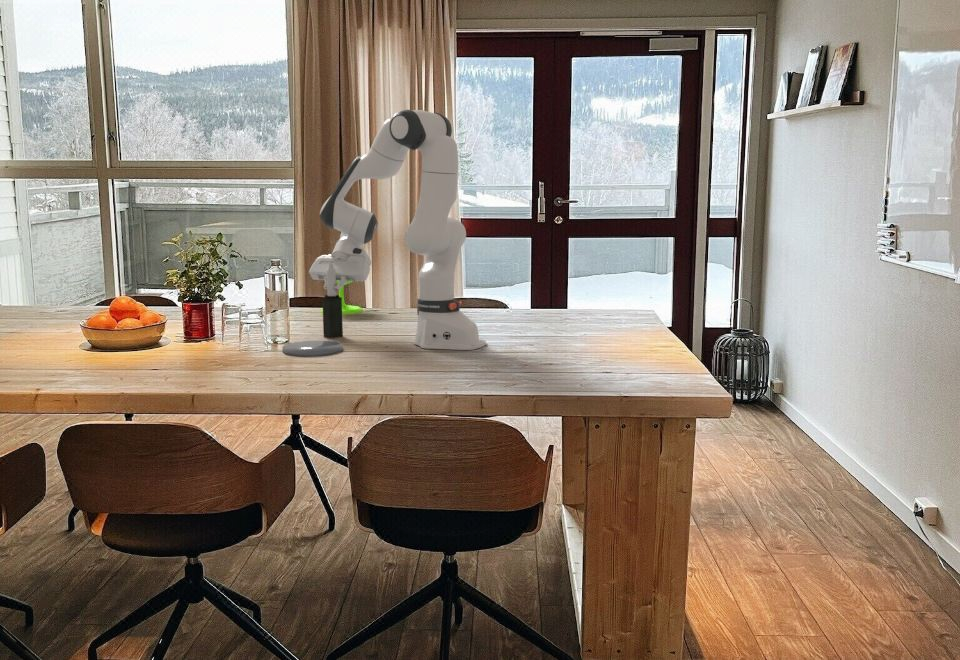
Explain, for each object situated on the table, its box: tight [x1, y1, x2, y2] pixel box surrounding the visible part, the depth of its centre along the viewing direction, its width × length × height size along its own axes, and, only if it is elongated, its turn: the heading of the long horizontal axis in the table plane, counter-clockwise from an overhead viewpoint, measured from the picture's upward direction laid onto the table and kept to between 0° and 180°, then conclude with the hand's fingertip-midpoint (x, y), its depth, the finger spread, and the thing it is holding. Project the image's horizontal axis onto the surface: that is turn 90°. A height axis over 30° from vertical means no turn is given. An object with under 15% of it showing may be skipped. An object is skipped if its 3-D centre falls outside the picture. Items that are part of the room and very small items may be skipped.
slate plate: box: [281, 340, 344, 357], centre depth 279 cm, size 18×18×1 cm
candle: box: [321, 260, 344, 339], centre depth 299 cm, size 5×5×25 cm
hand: (331, 289), depth 298 cm, fingers open, 2 cm apart
